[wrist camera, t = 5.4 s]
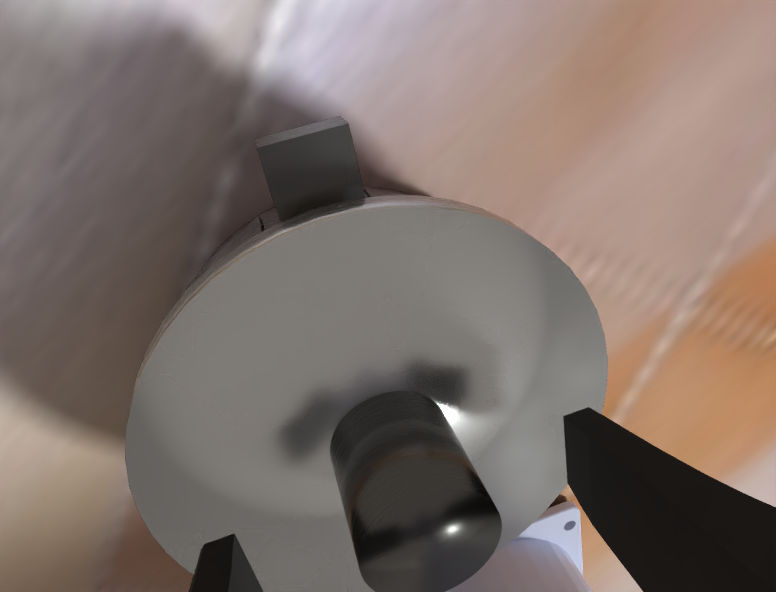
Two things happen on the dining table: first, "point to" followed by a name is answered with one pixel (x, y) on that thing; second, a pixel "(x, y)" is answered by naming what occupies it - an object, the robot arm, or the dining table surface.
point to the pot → (304, 176)
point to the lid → (365, 397)
